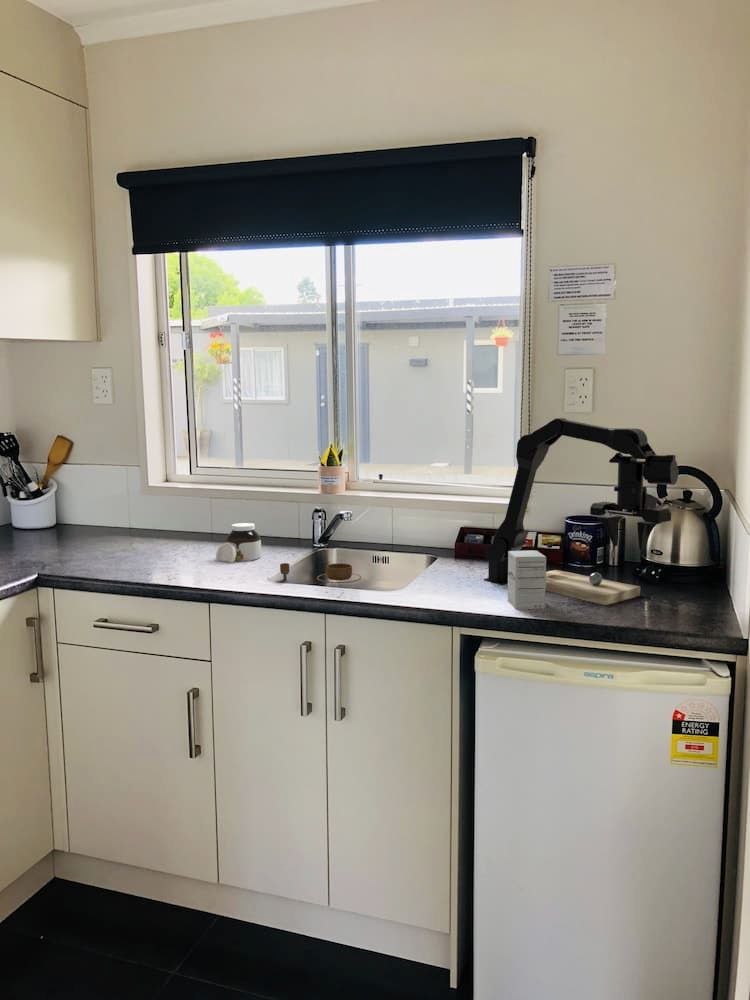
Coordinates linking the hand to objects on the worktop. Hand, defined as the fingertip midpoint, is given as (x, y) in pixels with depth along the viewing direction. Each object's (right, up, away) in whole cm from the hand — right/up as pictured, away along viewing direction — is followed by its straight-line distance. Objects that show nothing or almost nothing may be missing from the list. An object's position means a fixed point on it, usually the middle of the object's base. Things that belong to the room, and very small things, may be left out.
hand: (628, 548), depth 196 cm
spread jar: (-100, -8, +49) cm, 112 cm away
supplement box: (-25, -14, -1) cm, 28 cm away
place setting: (-74, -11, +27) cm, 79 cm away
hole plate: (-9, -12, +12) cm, 19 cm away
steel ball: (-6, -8, +8) cm, 13 cm away
